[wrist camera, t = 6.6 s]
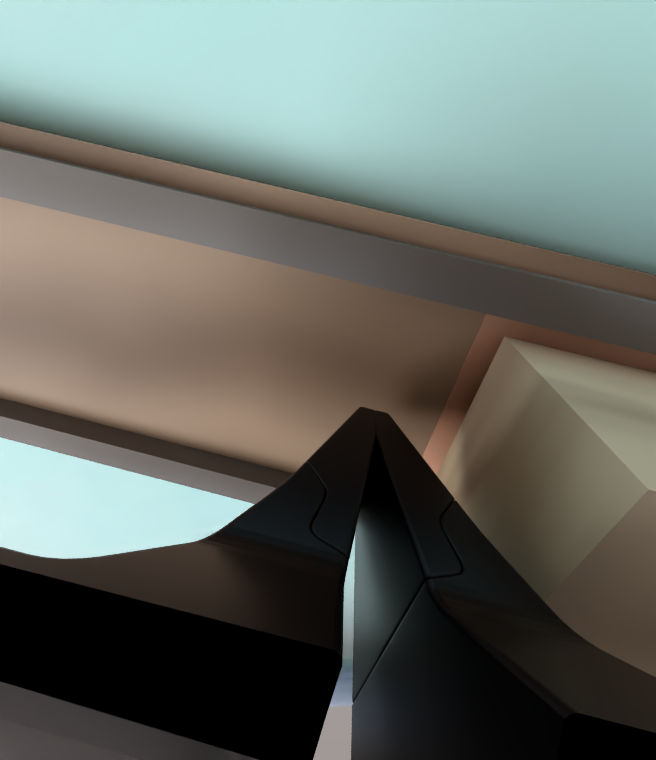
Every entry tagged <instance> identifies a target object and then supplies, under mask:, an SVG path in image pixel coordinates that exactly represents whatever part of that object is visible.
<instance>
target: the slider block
mask: <svg viewBox="0 0 656 760" xmlns="http://www.w3.org/2000/svg"><path fill="white" fill-rule="evenodd" d="M437 476H438V478H439V479H440V480H441V482H442V483H443V484H444V485H445V487H446V488H447V489H448V491H449V492H450V493H451V494H452V496H453V497H454V501H457V502H458V503H459V505H460V506H461V507H462V508H463V510H464V511H465V512H466V514H467V515H468V516H469V517H470V518H471V520H472V521H473V522H474V523H475V525H476V526H477V527H478V528H479V530H480V531H481V532H482V533H483V534H484V535H485V537H486V538H487V539H488V540H489V541H490V542H491V543H492V544H493V546H494V547H495V548H496V549H497V550H498V551H499V552H500V554H501V555H502V556H503V557H504V558H505V559H506V560H507V561H508V562H509V563H510V564H511V566H512V567H513V568H514V569H515V570H516V571H517V572H518V573H519V574H520V575H521V576H522V578H523V579H524V580H525V581H526V582H527V583H528V584H529V585H530V586H531V587H532V589H533V590H534V591H535V592H536V593H537V594H538V595H539V596H540V597H541V598H542V599H543V601H544V602H545V603H546V604H547V605H548V606H549V607H550V608H551V609H552V610H553V611H554V612H555V613H556V615H557V616H558V617H559V618H560V619H561V620H562V621H563V622H564V623H566V624H567V625H568V626H569V627H570V628H571V629H572V630H574V631H575V632H576V633H577V634H579V635H580V636H581V637H583V638H584V639H585V640H587V641H588V642H590V643H591V644H593V645H595V646H596V647H598V648H599V649H601V650H603V651H605V652H607V653H609V654H611V655H613V656H615V657H617V658H619V659H621V660H623V661H624V662H626V663H628V664H630V665H632V666H634V667H636V668H638V669H640V670H642V671H644V672H646V673H648V674H650V675H652V676H654V677H656V373H654V372H649V371H645V370H641V369H637V368H633V367H629V366H625V365H621V364H616V363H612V362H608V361H604V360H600V359H596V358H592V357H588V356H583V355H579V354H575V353H571V352H567V351H563V350H559V349H555V348H550V347H546V346H542V345H538V344H534V343H530V342H526V341H522V340H517V339H513V338H509V337H505V336H504V338H503V340H502V342H501V344H500V346H499V348H498V351H497V353H496V355H495V357H494V359H493V361H492V363H491V365H490V367H489V369H488V371H487V373H486V375H485V377H484V379H483V381H482V383H481V385H480V387H479V389H478V391H477V393H476V395H475V397H474V400H473V402H472V404H471V406H470V408H469V410H468V412H467V414H466V416H465V418H464V420H463V422H462V424H461V426H460V428H459V430H458V432H457V434H456V436H455V438H454V440H453V442H452V444H451V446H450V449H449V451H448V453H447V455H446V457H445V459H444V461H443V463H442V465H441V467H440V469H439V471H438V473H437Z"/></svg>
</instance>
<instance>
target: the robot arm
mask: <svg viewBox="0 0 656 760" xmlns="http://www.w3.org/2000/svg"><path fill="white" fill-rule="evenodd" d="M354 535H355V582H354V638H353V694H352V701H353V705H352V744H351V747H352V748H351V760H656V677H654V676H652V675H650V674H648V673H646V672H644V671H642V670H640V669H638V668H636V667H634V666H632V665H630V664H628V663H626V662H624V661H623V660H621V659H619V658H617V657H615V656H613V655H611V654H609V653H607V652H605V651H603V650H601V649H599V648H598V647H596V646H595V645H593V644H591V643H590V642H588V641H587V640H585V639H584V638H583V637H581V636H580V635H579V634H577V633H576V632H575V631H574V630H572V629H571V628H570V627H569V626H568V625H567V624H566V623H564V622H563V621H562V620H561V619H560V618H559V617H558V616H557V615H556V613H555V612H554V611H553V610H552V609H551V608H550V607H549V606H548V605H547V604H546V603H545V602H544V601H543V599H542V598H541V597H540V596H539V595H538V594H537V593H536V592H535V591H534V590H533V589H532V587H531V586H530V585H529V584H528V583H527V582H526V581H525V580H524V579H523V578H522V576H521V575H520V574H519V573H518V572H517V571H516V570H515V569H514V568H513V567H512V566H511V564H510V563H509V562H508V561H507V560H506V559H505V558H504V557H503V556H502V555H501V554H500V552H499V551H498V550H497V549H496V548H495V547H494V546H493V544H492V543H491V542H490V541H489V540H488V539H487V538H486V537H485V535H484V534H483V533H482V532H481V531H480V530H479V528H478V527H477V526H476V525H475V523H474V522H473V521H472V520H471V518H470V517H469V516H468V515H467V514H466V512H465V511H464V510H463V508H462V507H461V506H460V505H459V503H458V502H457V501H454V497H453V496H452V494H451V493H450V492H449V491H448V489H447V488H446V487H445V485H444V484H443V483H442V482H441V480H440V479H439V478H438V476H437V475H436V474H435V473H434V471H433V470H432V469H431V467H430V466H429V465H428V464H427V462H426V461H425V460H424V458H423V457H422V456H421V455H420V453H419V452H418V451H417V449H416V448H415V447H414V445H413V444H412V443H411V442H410V440H409V439H408V438H407V436H406V435H405V434H404V433H403V431H402V430H401V429H400V427H399V426H398V425H397V424H396V422H395V421H394V420H393V418H392V417H391V416H390V415H389V414H388V413H385V412H381V411H377V410H373V409H369V408H365V407H359V408H358V409H357V410H356V411H355V412H354V413H353V414H352V415H351V416H350V417H349V418H348V419H347V420H346V421H345V422H344V423H343V424H342V425H341V426H340V427H339V428H338V429H337V430H336V431H335V432H334V433H333V434H332V435H331V436H330V437H329V438H328V439H327V440H326V441H325V442H324V443H323V444H322V445H321V446H320V447H319V449H318V450H317V451H316V452H315V453H314V454H313V455H312V456H311V457H310V458H309V459H308V460H307V461H306V462H305V463H304V464H303V465H302V466H301V467H300V468H299V469H298V470H297V471H296V472H294V473H293V474H292V475H291V476H290V477H289V478H288V479H287V480H286V481H285V482H284V483H282V484H281V485H280V486H279V487H277V488H276V489H275V490H273V491H272V492H271V493H270V494H268V495H267V496H266V497H264V498H263V499H262V500H260V501H259V502H257V503H256V504H255V505H253V506H252V507H251V508H249V509H248V510H247V511H245V512H244V513H242V514H241V515H240V516H238V517H237V518H236V519H234V520H233V521H232V522H230V523H229V524H227V525H226V526H225V527H223V528H222V529H220V530H219V531H217V532H215V533H214V534H212V535H210V536H208V537H206V538H204V539H201V540H199V541H196V542H191V543H185V544H178V545H172V546H165V547H159V548H152V549H146V550H139V551H133V552H126V553H120V554H113V555H107V556H101V557H91V558H77V559H59V558H47V557H40V556H35V555H29V554H25V553H22V552H18V551H14V550H11V549H7V548H3V547H0V760H313V757H314V754H315V750H316V747H317V744H318V741H319V737H320V734H321V731H322V727H323V724H324V721H325V718H326V714H327V711H328V708H329V705H330V702H331V699H332V696H333V692H334V689H335V686H336V683H337V680H338V677H339V674H340V670H341V667H342V652H343V601H344V582H345V576H346V571H347V566H348V561H349V557H350V553H351V549H352V544H353V540H354Z"/></svg>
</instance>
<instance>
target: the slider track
mask: <svg viewBox="0 0 656 760" xmlns="http://www.w3.org/2000/svg"><path fill="white" fill-rule="evenodd" d="M504 336H505V337H509V338H513V339H517V340H522V341H526V342H530V343H534V344H538V345H542V346H546V347H550V348H555V349H559V350H563V351H567V352H571V353H575V354H579V355H583V356H588V357H592V358H596V359H600V360H604V361H608V362H612V363H616V364H621V365H625V366H629V367H633V368H637V369H641V370H645V371H649V372H654V373H656V275H654V274H650V273H645V272H641V271H637V270H633V269H628V268H624V267H620V266H615V265H611V264H607V263H603V262H598V261H594V260H590V259H586V258H581V257H577V256H573V255H568V254H564V253H560V252H556V251H551V250H547V249H543V248H539V247H534V246H530V245H526V244H522V243H517V242H513V241H509V240H504V239H500V238H496V237H492V236H487V235H483V234H479V233H475V232H470V231H466V230H462V229H457V228H453V227H449V226H445V225H440V224H436V223H432V222H428V221H423V220H419V219H415V218H410V217H406V216H402V215H398V214H393V213H389V212H385V211H381V210H376V209H372V208H368V207H363V206H359V205H355V204H351V203H346V202H342V201H338V200H334V199H329V198H325V197H321V196H316V195H312V194H308V193H304V192H299V191H295V190H291V189H287V188H282V187H278V186H274V185H270V184H265V183H261V182H257V181H252V180H248V179H244V178H240V177H235V176H231V175H227V174H223V173H218V172H214V171H210V170H205V169H201V168H197V167H193V166H188V165H184V164H180V163H176V162H171V161H167V160H163V159H158V158H154V157H150V156H146V155H141V154H137V153H133V152H129V151H124V150H120V149H116V148H111V147H107V146H103V145H99V144H94V143H90V142H86V141H82V140H77V139H73V138H69V137H64V136H60V135H56V134H52V133H47V132H43V131H39V130H35V129H30V128H26V127H22V126H17V125H13V124H9V123H5V122H0V437H2V438H6V439H9V440H13V441H17V442H21V443H25V444H28V445H32V446H36V447H40V448H44V449H47V450H51V451H55V452H59V453H63V454H66V455H70V456H74V457H78V458H82V459H86V460H89V461H93V462H97V463H101V464H105V465H108V466H112V467H116V468H120V469H124V470H127V471H131V472H135V473H139V474H143V475H147V476H150V477H154V478H158V479H162V480H166V481H169V482H173V483H177V484H181V485H185V486H188V487H192V488H196V489H200V490H204V491H208V492H211V493H215V494H219V495H223V496H227V497H230V498H234V499H238V500H242V501H246V502H249V503H253V504H256V503H257V502H259V501H260V500H262V499H263V498H264V497H266V496H267V495H268V494H270V493H271V492H272V491H273V490H275V489H276V488H277V487H279V486H280V485H281V484H282V483H284V482H285V481H286V480H287V479H288V478H289V477H290V476H291V475H292V474H293V473H294V472H296V471H297V470H298V469H299V468H300V467H301V466H302V465H303V464H304V463H305V462H306V461H307V460H308V459H309V458H310V457H311V456H312V455H313V454H314V453H315V452H316V451H317V450H318V449H319V447H320V446H321V445H322V444H323V443H324V442H325V441H326V440H327V439H328V438H329V437H330V436H331V435H332V434H333V433H334V432H335V431H336V430H337V429H338V428H339V427H340V426H341V425H342V424H343V423H344V422H345V421H346V420H347V419H348V418H349V417H350V416H351V415H352V414H353V413H354V412H355V411H356V410H357V409H358V408H359V407H365V408H369V409H373V410H377V411H381V412H385V413H388V414H389V415H390V416H391V417H392V418H393V420H394V421H395V422H396V424H397V425H398V426H399V427H400V429H401V430H402V431H403V433H404V434H405V435H406V436H407V438H408V439H409V440H410V442H411V443H412V444H413V445H414V447H415V448H416V449H417V451H418V452H419V453H420V455H421V456H422V457H423V458H424V460H425V461H426V462H427V464H428V465H429V466H430V467H431V469H432V470H433V471H434V473H435V474H436V475H437V473H438V471H439V469H440V467H441V465H442V463H443V461H444V459H445V457H446V455H447V453H448V451H449V449H450V446H451V444H452V442H453V440H454V438H455V436H456V434H457V432H458V430H459V428H460V426H461V424H462V422H463V420H464V418H465V416H466V414H467V412H468V410H469V408H470V406H471V404H472V402H473V400H474V397H475V395H476V393H477V391H478V389H479V387H480V385H481V383H482V381H483V379H484V377H485V375H486V373H487V371H488V369H489V367H490V365H491V363H492V361H493V359H494V357H495V355H496V353H497V351H498V348H499V346H500V344H501V342H502V340H503V338H504Z"/></svg>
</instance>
